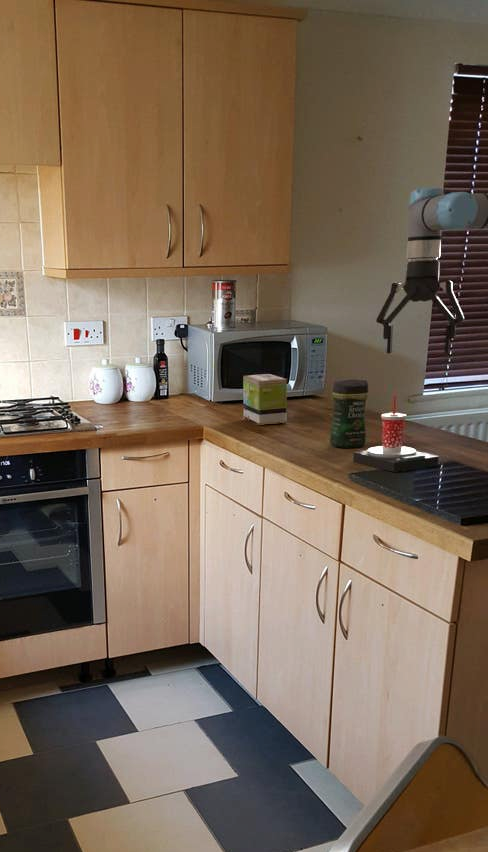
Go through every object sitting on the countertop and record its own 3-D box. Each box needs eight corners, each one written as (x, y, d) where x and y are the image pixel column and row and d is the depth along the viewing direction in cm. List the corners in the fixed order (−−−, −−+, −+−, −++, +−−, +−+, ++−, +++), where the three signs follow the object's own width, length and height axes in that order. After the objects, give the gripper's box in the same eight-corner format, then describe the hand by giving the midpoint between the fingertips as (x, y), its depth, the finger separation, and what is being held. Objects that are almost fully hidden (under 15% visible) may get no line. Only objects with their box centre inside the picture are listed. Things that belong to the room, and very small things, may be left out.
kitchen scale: (438, 466, 219) (439, 453, 218) (393, 472, 214) (394, 459, 213) (395, 455, 233) (396, 443, 232) (353, 461, 227) (353, 449, 226)
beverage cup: (384, 447, 228) (387, 392, 223) (407, 449, 224) (411, 393, 220) (375, 451, 223) (378, 395, 218) (398, 453, 219) (402, 396, 215)
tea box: (242, 419, 296) (242, 375, 291) (270, 417, 299) (270, 373, 294) (258, 426, 282) (258, 379, 278) (287, 424, 285) (288, 377, 280)
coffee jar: (339, 449, 243) (341, 381, 237) (326, 444, 250) (328, 378, 244) (370, 446, 245) (373, 379, 239) (356, 442, 252) (359, 376, 246)
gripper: (480, 258, 204) (473, 351, 211) (372, 262, 214) (369, 351, 220) (477, 257, 198) (470, 354, 204) (366, 262, 207) (363, 354, 214)
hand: (417, 353), depth 212 cm, fingers open, 13 cm apart
